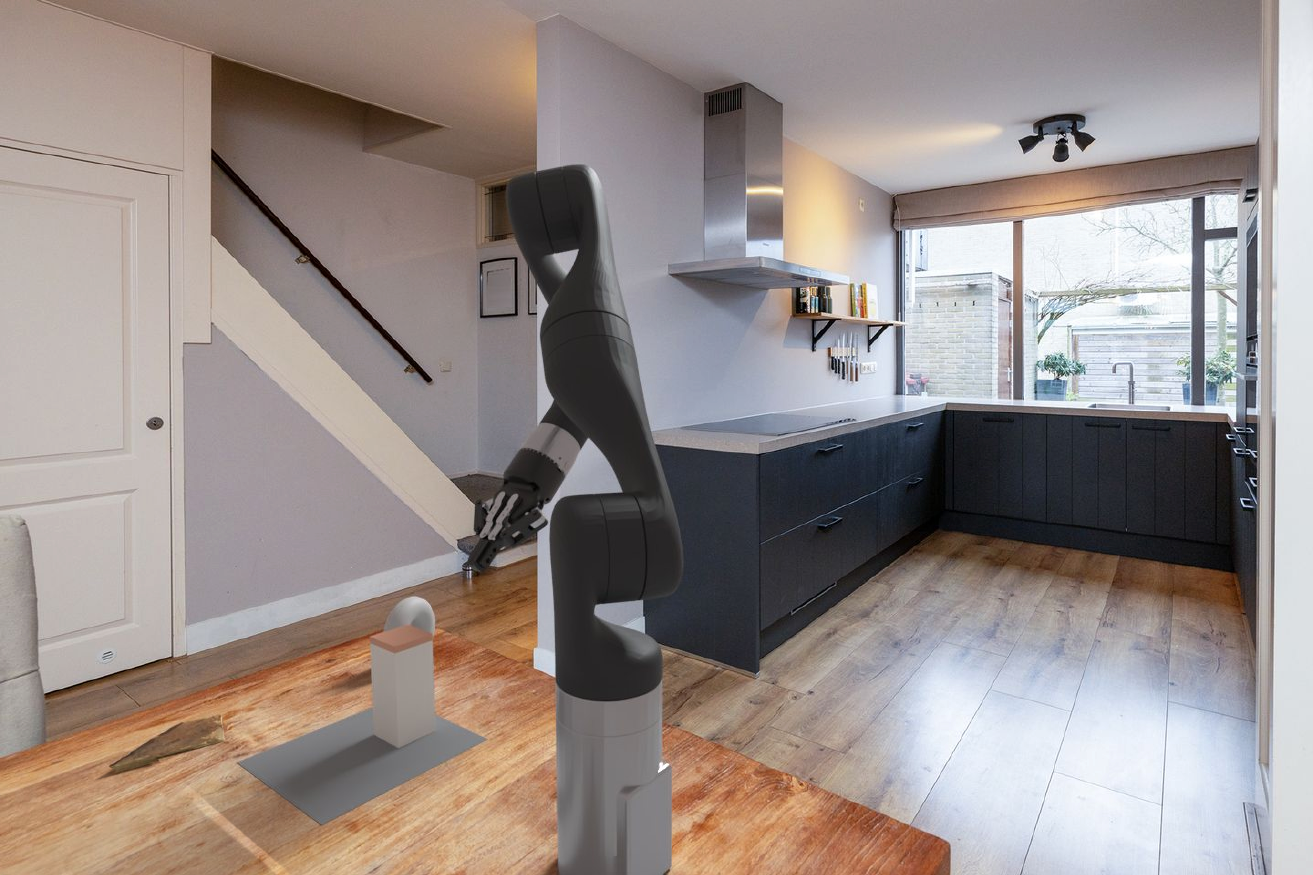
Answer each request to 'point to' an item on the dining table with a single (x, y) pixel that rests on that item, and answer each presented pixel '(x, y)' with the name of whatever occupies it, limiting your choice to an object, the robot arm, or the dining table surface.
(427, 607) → the donut
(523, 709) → the dining table surface
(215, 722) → the shard
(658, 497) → the robot arm
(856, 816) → the dining table surface
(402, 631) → the block
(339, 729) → the mat
